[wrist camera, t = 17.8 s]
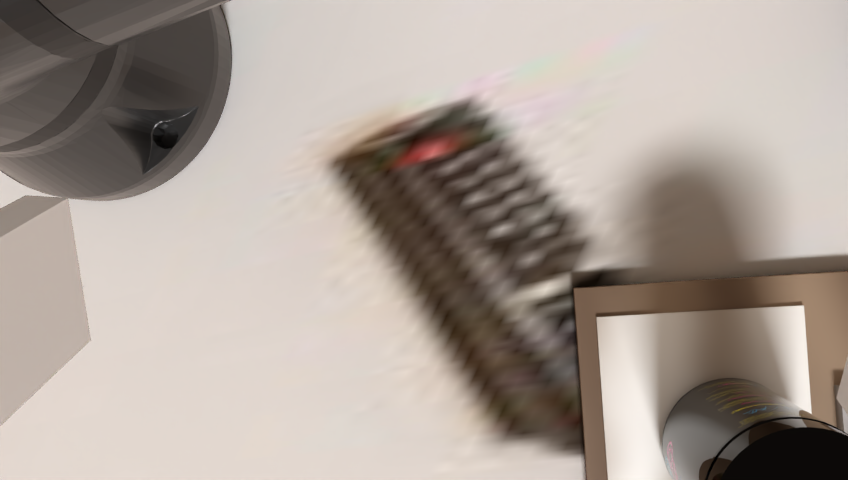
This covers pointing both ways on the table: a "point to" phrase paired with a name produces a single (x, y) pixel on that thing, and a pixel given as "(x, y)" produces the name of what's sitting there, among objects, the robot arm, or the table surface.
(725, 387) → the supplement container
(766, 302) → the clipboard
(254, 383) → the table surface
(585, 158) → the table surface
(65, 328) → the robot arm
